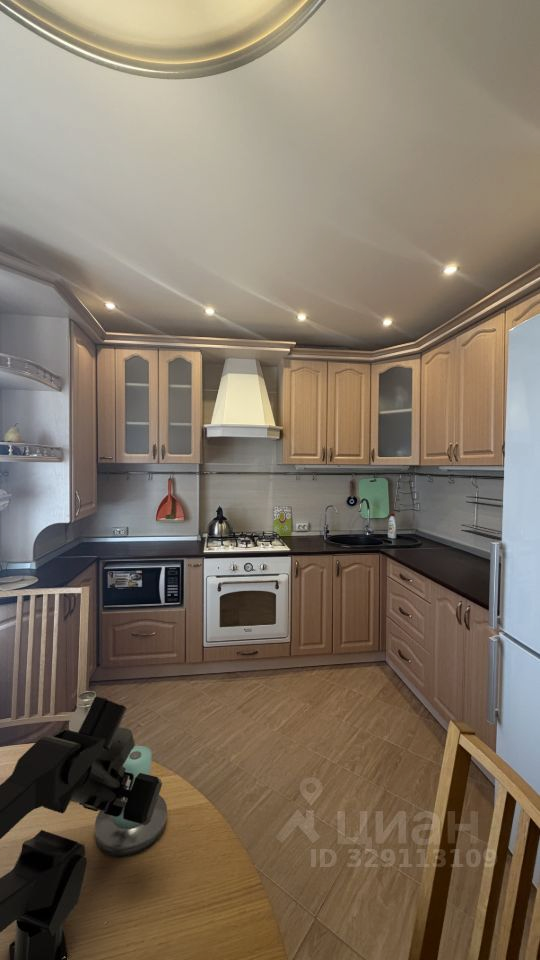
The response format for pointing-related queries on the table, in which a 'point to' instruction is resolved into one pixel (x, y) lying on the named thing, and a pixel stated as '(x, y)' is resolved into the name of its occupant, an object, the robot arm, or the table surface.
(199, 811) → the table surface
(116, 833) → the turntable
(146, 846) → the base
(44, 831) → the robot arm
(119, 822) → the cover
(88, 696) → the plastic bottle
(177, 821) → the table surface
